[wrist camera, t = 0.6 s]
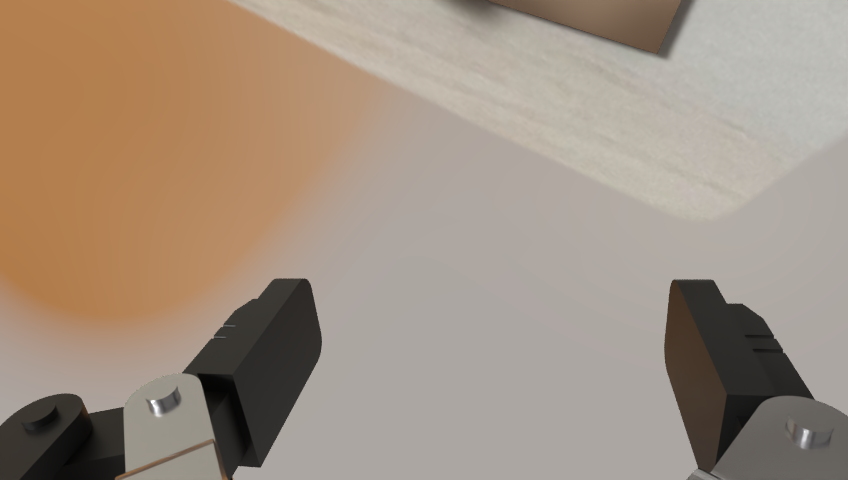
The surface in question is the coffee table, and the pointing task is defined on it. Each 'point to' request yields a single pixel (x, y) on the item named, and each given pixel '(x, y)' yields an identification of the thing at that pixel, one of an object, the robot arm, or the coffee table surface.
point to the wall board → (607, 17)
